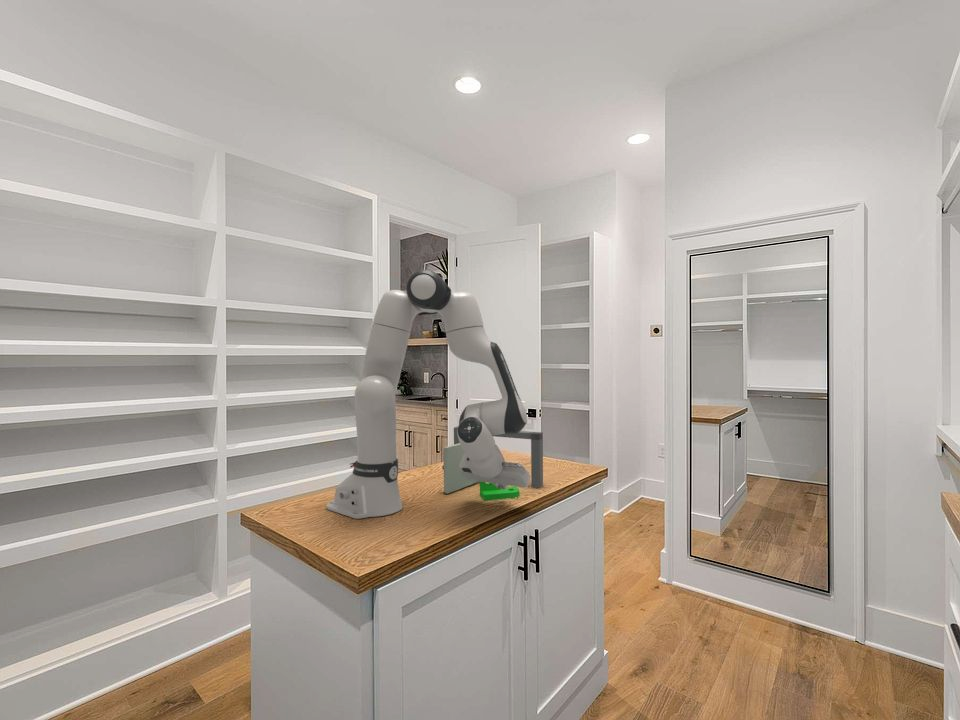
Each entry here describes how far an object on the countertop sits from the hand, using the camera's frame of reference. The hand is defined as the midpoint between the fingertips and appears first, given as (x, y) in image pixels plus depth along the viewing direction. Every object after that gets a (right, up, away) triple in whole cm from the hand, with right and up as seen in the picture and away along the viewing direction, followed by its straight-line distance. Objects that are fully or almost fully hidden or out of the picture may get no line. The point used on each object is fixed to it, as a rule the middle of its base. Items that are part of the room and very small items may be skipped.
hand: (502, 487), depth 144 cm
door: (-13, -4, +15) cm, 20 cm away
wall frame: (-1, -4, +22) cm, 22 cm away
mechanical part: (0, -5, +5) cm, 7 cm away
